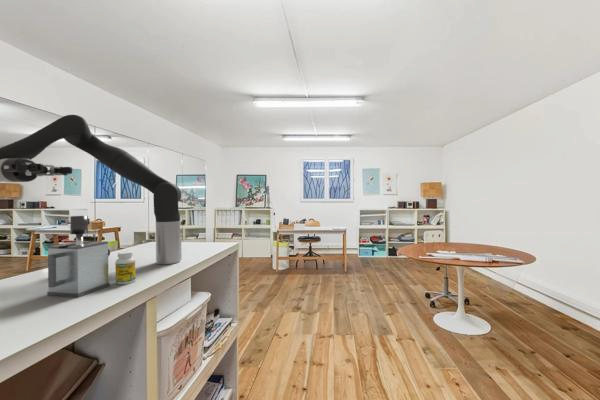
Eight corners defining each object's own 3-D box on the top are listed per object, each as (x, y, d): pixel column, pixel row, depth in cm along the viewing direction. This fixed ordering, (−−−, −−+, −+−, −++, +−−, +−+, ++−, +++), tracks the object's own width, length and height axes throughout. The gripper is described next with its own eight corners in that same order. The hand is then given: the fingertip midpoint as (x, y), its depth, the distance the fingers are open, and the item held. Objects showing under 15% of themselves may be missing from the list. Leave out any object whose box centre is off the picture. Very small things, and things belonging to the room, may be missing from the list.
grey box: (81, 284, 85) (81, 240, 85) (109, 285, 84) (109, 241, 84) (34, 299, 72) (34, 248, 72) (66, 301, 71) (66, 249, 71)
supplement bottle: (135, 278, 91) (134, 250, 91) (136, 282, 86) (135, 252, 86) (115, 281, 88) (115, 251, 88) (115, 285, 83) (115, 254, 83)
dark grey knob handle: (81, 273, 83) (80, 215, 83) (100, 274, 82) (100, 215, 82) (57, 280, 77) (56, 216, 76) (78, 281, 75) (77, 217, 75)
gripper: (-15, 154, 80) (31, 152, 77) (39, 161, 94) (79, 159, 91) (-15, 180, 80) (31, 179, 77) (39, 183, 94) (79, 182, 91)
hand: (57, 168), depth 84 cm, fingers open, 8 cm apart
